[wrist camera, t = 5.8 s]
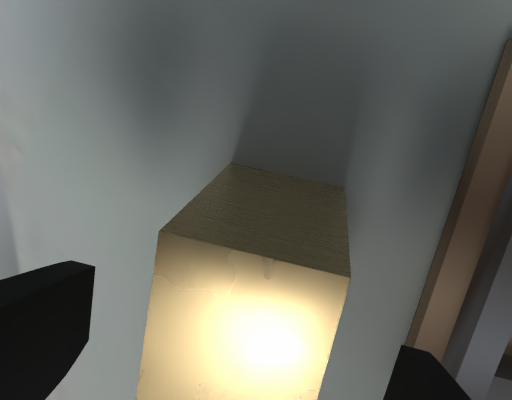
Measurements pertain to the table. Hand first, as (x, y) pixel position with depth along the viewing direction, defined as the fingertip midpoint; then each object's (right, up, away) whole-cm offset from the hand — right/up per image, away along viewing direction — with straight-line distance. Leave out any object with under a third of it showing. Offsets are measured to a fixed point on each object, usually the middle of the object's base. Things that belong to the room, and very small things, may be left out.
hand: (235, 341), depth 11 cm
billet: (+1, +2, +6) cm, 7 cm away
